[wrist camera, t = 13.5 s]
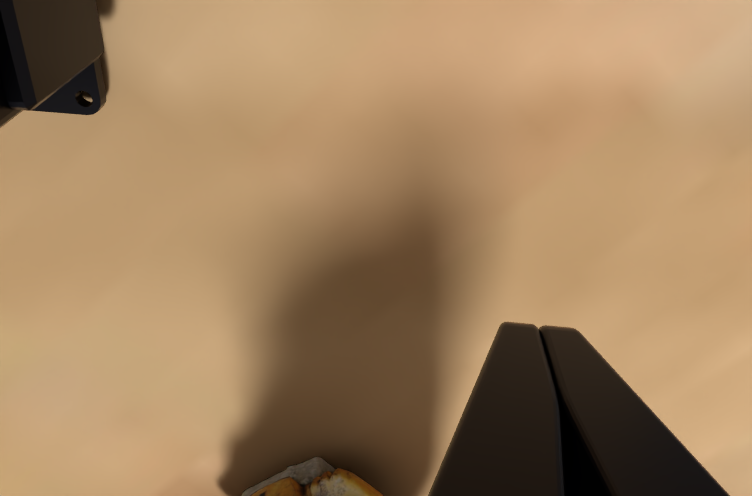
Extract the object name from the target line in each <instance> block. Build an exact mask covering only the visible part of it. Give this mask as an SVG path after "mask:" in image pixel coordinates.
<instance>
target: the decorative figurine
mask: <svg viewBox="0 0 752 496" xmlns="http://www.w3.org/2000/svg"><path fill="white" fill-rule="evenodd" d="M242 496H384V495H383V494H381V493H380V492H379V491H378V490H376V489H375V488H373V487H372V486H371V485H369V484H368V483H366V482H365V481H364V480H362V479H361V478H359V477H358V476H357V475H355V474H354V473H352V472H350V471H347V470H344V469H341V468H338V469H334V468H333V467H332V466H331V465H329V464H328V463H327V462H325V460H324V459H322V458H320V457H314V458H312V459H310V460H308V461H306V462H305V463H300V464H298V465H292V466H288V467H287V469H286V470H284V471H283V472H280V473H278V474H276V475H274V476H272V477H270V478H268V479H267V480H264V481H263V482H260V483H259V484H257V485H255V486H254V487H250V488H248V489H247V490H245V491H244V492H243V494H242Z"/></svg>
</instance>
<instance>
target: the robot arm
mask: <svg viewBox="0 0 752 496" xmlns="http://www.w3.org/2000/svg"><path fill="white" fill-rule="evenodd" d="M103 52H104V45H103V40H102V34H101V28H100V22H99V17H98V11H97V5H96V0H0V128H1V127H2V126H3V125H5V124H6V123H7V122H9V121H10V120H11V119H13V118H14V117H15V116H16V115H18V114H19V113H20V112H22V111H23V110H28V111H30V110H32V111H45V112H57V113H69V114H82V115H91V114H94V113H96V112H98V111H99V110H100V109H101V108H102V107H103V106H104V104H105V102H106V91H105V86H104V80H103V75H102V69H101V63H100V58H99V57H100V56H101V54H102V53H103ZM81 91H85V92H87V93H89V94H90V95H91V97H92V99H93V101H92V102H89V101H87V100H85V99H84V98H83V96H82V94H81ZM428 496H730V495H729V494H728V493H727V492H726V491H725V490H724V489H723V488H722V487H721V486H720V484H719V483H718V482H717V481H716V480H715V479H714V478H713V477H712V476H711V475H710V474H709V472H708V471H707V470H706V469H705V468H704V467H703V466H702V465H701V464H700V463H699V462H698V460H697V459H696V458H695V457H694V456H693V455H692V454H691V453H690V452H689V451H688V450H687V448H686V447H685V446H684V445H683V444H682V443H681V442H680V441H679V440H678V439H677V438H676V437H675V435H674V434H673V433H672V432H671V431H670V430H669V429H668V428H667V427H666V426H665V425H664V423H663V422H662V421H661V420H660V419H659V418H658V417H657V416H656V415H655V414H654V413H653V411H652V410H651V409H650V408H649V407H648V406H647V405H646V404H645V403H644V402H643V401H642V399H641V398H640V397H639V396H638V395H637V394H636V393H635V392H634V391H633V390H632V389H631V387H630V386H629V385H628V384H627V383H626V382H625V381H624V380H623V379H622V378H621V377H620V376H619V374H618V373H617V372H616V371H615V370H614V369H613V368H612V367H611V366H610V365H609V364H608V362H607V361H606V360H605V359H604V358H603V357H602V356H601V355H600V354H599V353H598V352H597V350H596V349H595V348H594V347H593V346H592V345H591V344H590V343H589V342H588V341H587V340H586V338H585V337H584V336H583V335H582V334H581V333H580V332H579V331H577V330H576V329H574V328H568V327H557V326H546V325H545V326H542V327H540V328H539V329H538V327H536V326H535V325H533V324H525V323H514V322H504V323H502V324H501V325H500V327H499V329H498V331H497V334H496V336H495V339H494V341H493V343H492V346H491V348H490V350H489V353H488V355H487V357H486V360H485V362H484V365H483V367H482V369H481V372H480V374H479V376H478V379H477V381H476V383H475V386H474V388H473V391H472V393H471V395H470V398H469V400H468V402H467V405H466V407H465V409H464V412H463V414H462V417H461V419H460V421H459V424H458V426H457V428H456V431H455V433H454V435H453V438H452V440H451V443H450V445H449V447H448V450H447V452H446V454H445V457H444V459H443V461H442V464H441V466H440V469H439V471H438V473H437V476H436V478H435V480H434V483H433V485H432V487H431V490H430V492H429V495H428Z"/></svg>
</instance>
